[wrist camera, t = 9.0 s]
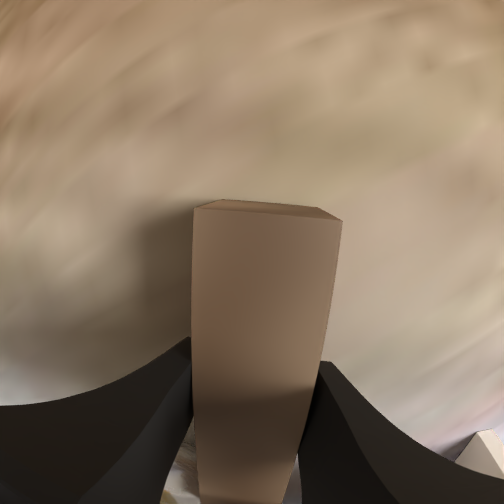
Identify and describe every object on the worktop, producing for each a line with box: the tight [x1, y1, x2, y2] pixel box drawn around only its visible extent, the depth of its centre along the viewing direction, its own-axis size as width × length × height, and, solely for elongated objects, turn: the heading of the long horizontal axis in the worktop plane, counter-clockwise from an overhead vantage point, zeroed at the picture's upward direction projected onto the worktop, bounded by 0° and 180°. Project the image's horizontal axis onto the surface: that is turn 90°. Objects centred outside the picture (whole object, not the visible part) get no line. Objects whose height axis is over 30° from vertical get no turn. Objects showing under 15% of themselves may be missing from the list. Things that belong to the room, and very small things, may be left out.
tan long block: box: [191, 199, 342, 504], centre depth 10 cm, size 3×16×4 cm, turn 176°
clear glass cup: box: [160, 442, 201, 504], centre depth 12 cm, size 5×5×2 cm
